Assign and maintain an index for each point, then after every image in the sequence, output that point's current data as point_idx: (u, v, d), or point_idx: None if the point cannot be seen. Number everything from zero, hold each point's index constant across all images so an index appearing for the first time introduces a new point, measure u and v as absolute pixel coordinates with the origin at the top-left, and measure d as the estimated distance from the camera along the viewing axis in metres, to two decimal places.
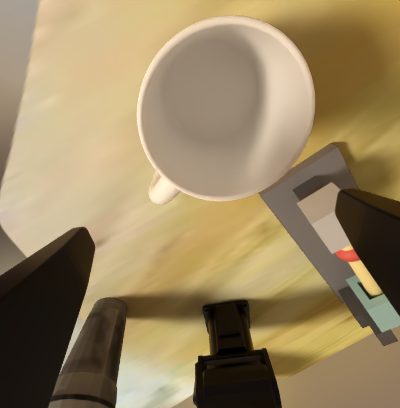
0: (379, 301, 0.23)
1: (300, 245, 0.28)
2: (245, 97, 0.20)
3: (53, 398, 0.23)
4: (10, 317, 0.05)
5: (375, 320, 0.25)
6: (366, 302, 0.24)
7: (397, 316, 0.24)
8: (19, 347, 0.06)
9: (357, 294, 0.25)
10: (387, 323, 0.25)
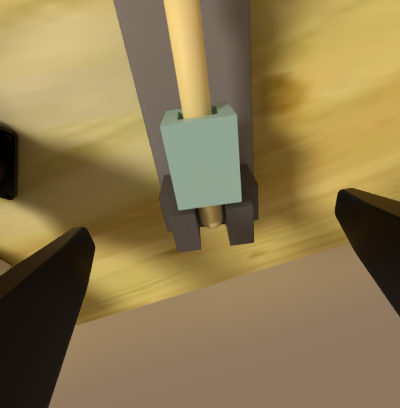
0: (189, 120, 0.12)
1: (122, 21, 0.15)
2: None
3: None
4: (10, 317, 0.05)
5: (172, 168, 0.13)
6: (170, 121, 0.12)
7: (209, 177, 0.13)
8: (19, 347, 0.06)
9: (165, 117, 0.13)
10: (190, 189, 0.14)
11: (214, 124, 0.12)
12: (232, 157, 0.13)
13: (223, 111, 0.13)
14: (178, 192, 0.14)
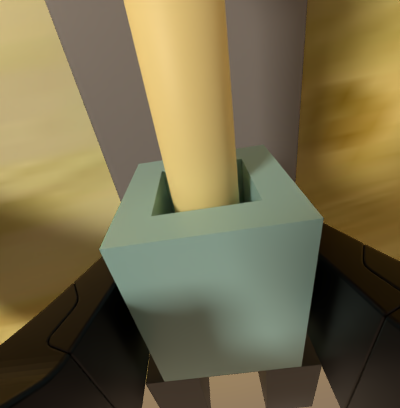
0: (182, 226, 0.04)
1: None
2: None
3: None
4: (119, 303, 0.05)
5: (143, 325, 0.05)
6: (133, 221, 0.05)
7: (234, 335, 0.06)
8: (125, 334, 0.05)
9: (129, 196, 0.06)
10: (190, 354, 0.06)
11: (255, 241, 0.04)
12: (293, 302, 0.05)
13: (272, 190, 0.05)
14: (162, 358, 0.06)
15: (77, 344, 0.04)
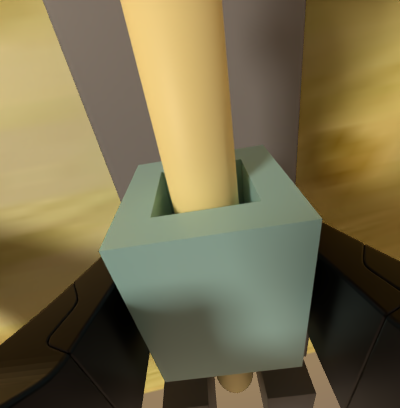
0: (182, 228, 0.04)
1: (72, 60, 0.08)
2: None
3: None
4: (119, 303, 0.05)
5: (143, 326, 0.05)
6: (133, 222, 0.05)
7: (234, 336, 0.06)
8: (125, 334, 0.05)
9: (129, 197, 0.06)
10: (190, 354, 0.06)
11: (254, 242, 0.04)
12: (293, 302, 0.05)
13: (271, 190, 0.05)
14: (163, 359, 0.06)
15: (77, 344, 0.04)
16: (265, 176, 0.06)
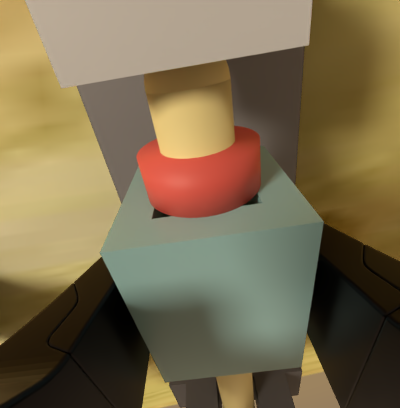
0: (183, 230, 0.04)
1: (117, 178, 0.11)
2: None
3: None
4: (119, 303, 0.05)
5: (144, 327, 0.05)
6: (134, 224, 0.05)
7: (234, 337, 0.06)
8: (125, 334, 0.05)
9: (130, 198, 0.06)
10: (190, 355, 0.06)
11: (255, 244, 0.04)
12: (294, 304, 0.05)
13: (272, 192, 0.05)
14: (162, 360, 0.06)
15: (77, 344, 0.04)
16: (266, 178, 0.06)
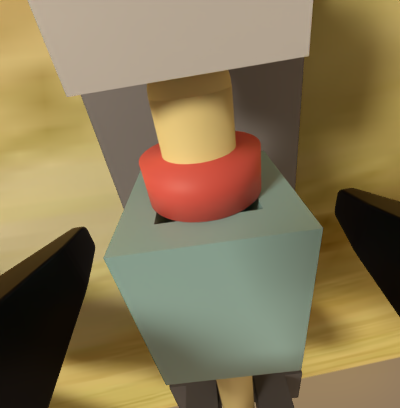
0: (185, 235, 0.04)
1: (118, 181, 0.11)
2: None
3: None
4: (10, 317, 0.05)
5: (146, 330, 0.05)
6: (136, 229, 0.05)
7: (235, 340, 0.06)
8: (19, 347, 0.06)
9: (132, 203, 0.06)
10: (191, 358, 0.06)
11: (256, 250, 0.04)
12: (294, 308, 0.05)
13: (272, 198, 0.05)
14: (164, 363, 0.06)
15: None
16: (267, 183, 0.06)
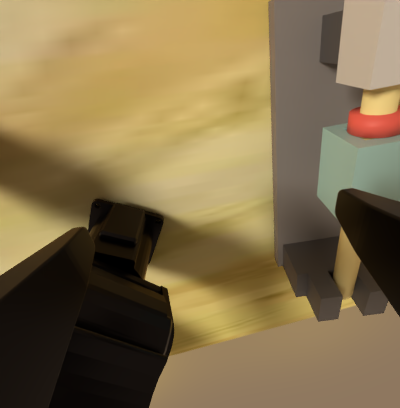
0: (384, 141, 0.12)
1: (279, 142, 0.18)
2: None
3: None
4: (10, 317, 0.05)
5: None
6: (359, 142, 0.12)
7: (388, 195, 0.13)
8: (19, 347, 0.06)
9: (342, 136, 0.13)
10: None
11: None
12: None
13: None
14: None
15: None
16: None
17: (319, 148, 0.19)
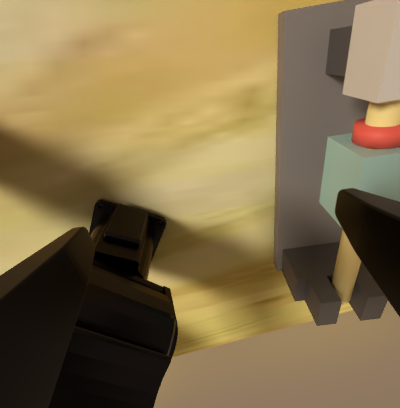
0: (388, 152, 0.13)
1: (283, 148, 0.19)
2: None
3: None
4: (10, 317, 0.05)
5: None
6: (364, 152, 0.13)
7: None
8: (19, 347, 0.06)
9: (347, 146, 0.14)
10: None
11: None
12: None
13: None
14: None
15: None
16: None
17: (322, 156, 0.19)
